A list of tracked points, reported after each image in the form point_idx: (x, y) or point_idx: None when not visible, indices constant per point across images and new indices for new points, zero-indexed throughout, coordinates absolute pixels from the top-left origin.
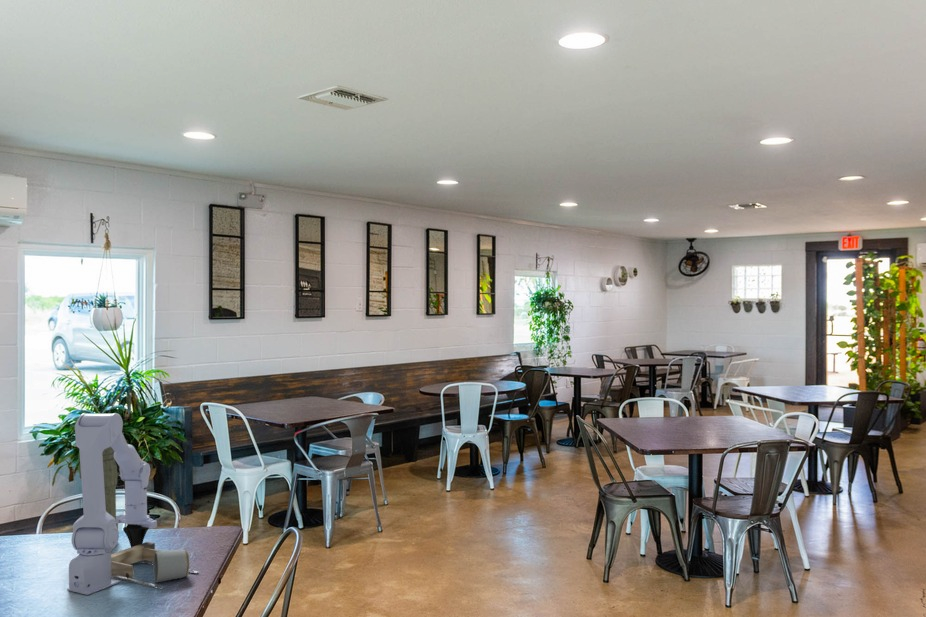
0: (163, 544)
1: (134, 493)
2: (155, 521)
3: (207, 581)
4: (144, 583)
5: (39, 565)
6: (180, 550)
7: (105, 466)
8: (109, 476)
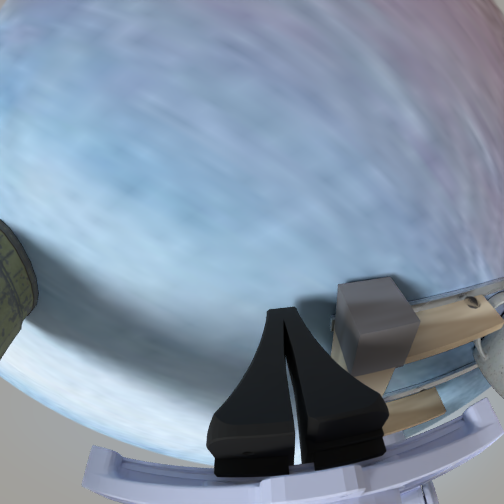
0: (198, 74)
1: None
2: (497, 437)
3: None
4: (464, 373)
5: (114, 420)
6: None
7: None
8: None
